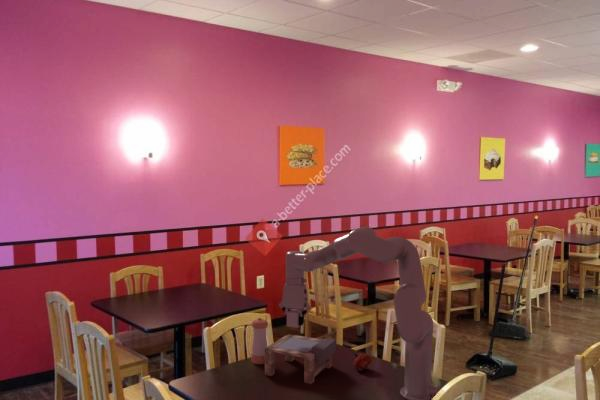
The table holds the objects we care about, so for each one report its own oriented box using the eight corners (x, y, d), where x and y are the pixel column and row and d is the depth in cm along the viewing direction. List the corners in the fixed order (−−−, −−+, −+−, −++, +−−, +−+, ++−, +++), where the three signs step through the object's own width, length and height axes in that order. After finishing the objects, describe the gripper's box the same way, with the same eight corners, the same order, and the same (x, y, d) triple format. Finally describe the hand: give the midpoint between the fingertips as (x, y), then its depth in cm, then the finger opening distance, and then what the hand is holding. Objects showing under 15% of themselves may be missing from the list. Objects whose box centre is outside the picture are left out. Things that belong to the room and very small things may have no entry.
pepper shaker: (270, 363, 230) (270, 319, 229) (254, 365, 227) (254, 321, 226) (265, 357, 237) (265, 314, 236) (249, 359, 234) (249, 316, 233)
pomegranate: (372, 373, 224) (356, 355, 228) (381, 363, 220) (364, 345, 225) (362, 380, 219) (346, 362, 223) (370, 370, 215) (354, 351, 219)
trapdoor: (336, 351, 221) (336, 339, 221) (322, 362, 209) (322, 349, 208) (291, 344, 230) (291, 332, 230) (276, 354, 218) (276, 342, 217)
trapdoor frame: (331, 366, 226) (331, 340, 226) (311, 384, 208) (311, 356, 207) (288, 358, 235) (288, 334, 235) (264, 374, 217) (264, 348, 216)
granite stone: (302, 324, 222) (302, 310, 222) (297, 327, 218) (297, 313, 218) (292, 323, 225) (292, 309, 224) (286, 326, 220) (286, 311, 220)
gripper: (317, 281, 220) (317, 324, 221) (280, 277, 227) (280, 319, 228) (309, 284, 213) (309, 329, 214) (272, 280, 220) (272, 324, 222)
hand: (294, 323), depth 221 cm, fingers closed on granite stone, 5 cm apart
